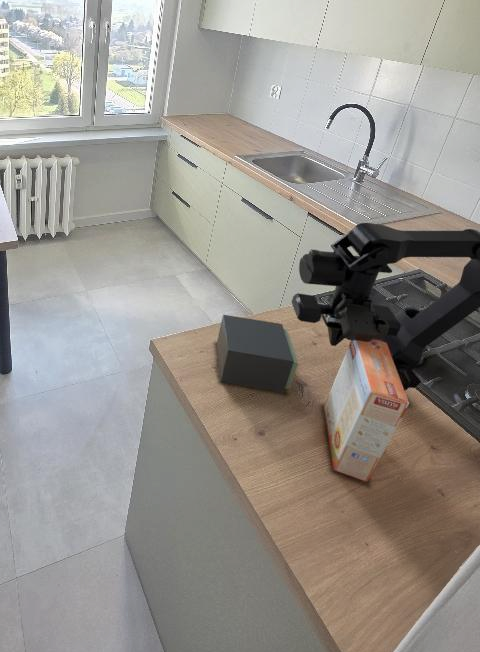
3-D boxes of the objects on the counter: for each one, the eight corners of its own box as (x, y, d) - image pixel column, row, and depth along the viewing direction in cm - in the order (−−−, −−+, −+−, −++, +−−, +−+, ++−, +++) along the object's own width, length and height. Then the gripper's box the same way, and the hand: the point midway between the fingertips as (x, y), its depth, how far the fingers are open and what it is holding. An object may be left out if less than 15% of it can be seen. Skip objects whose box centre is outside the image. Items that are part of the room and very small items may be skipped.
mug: (420, 372, 98) (438, 335, 93) (375, 350, 103) (391, 314, 98) (427, 344, 106) (444, 309, 101) (385, 325, 111) (400, 291, 107)
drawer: (285, 354, 99) (292, 330, 96) (295, 389, 90) (304, 364, 87) (226, 344, 101) (232, 320, 98) (231, 378, 92) (237, 352, 89)
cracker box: (369, 484, 74) (411, 404, 66) (332, 471, 76) (368, 391, 67) (354, 416, 86) (388, 341, 78) (322, 406, 88) (352, 331, 79)
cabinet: (273, 353, 101) (282, 323, 97) (283, 392, 91) (294, 361, 87) (216, 343, 102) (223, 314, 99) (220, 381, 93) (228, 350, 89)
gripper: (316, 305, 76) (295, 367, 82) (428, 322, 73) (398, 384, 80) (300, 268, 86) (282, 326, 92) (398, 282, 83) (373, 341, 90)
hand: (332, 344), depth 88 cm, fingers closed
